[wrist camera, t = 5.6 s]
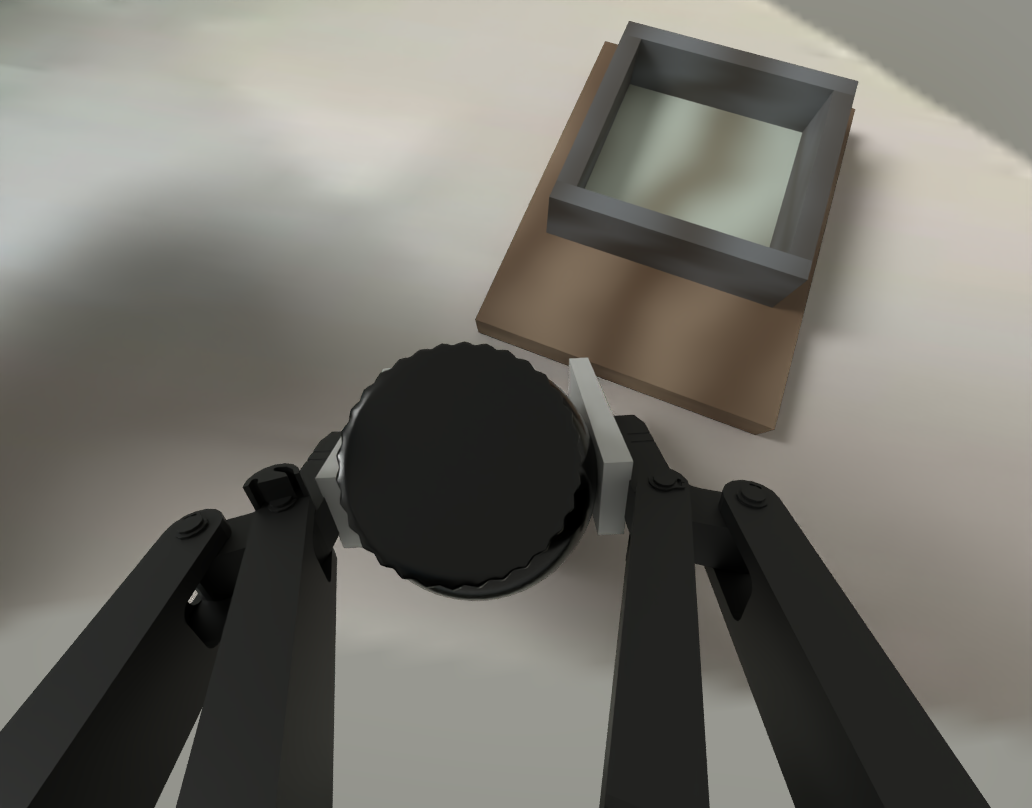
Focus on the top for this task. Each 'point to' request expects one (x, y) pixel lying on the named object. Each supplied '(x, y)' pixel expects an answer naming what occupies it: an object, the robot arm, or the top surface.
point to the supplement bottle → (467, 472)
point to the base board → (679, 224)
